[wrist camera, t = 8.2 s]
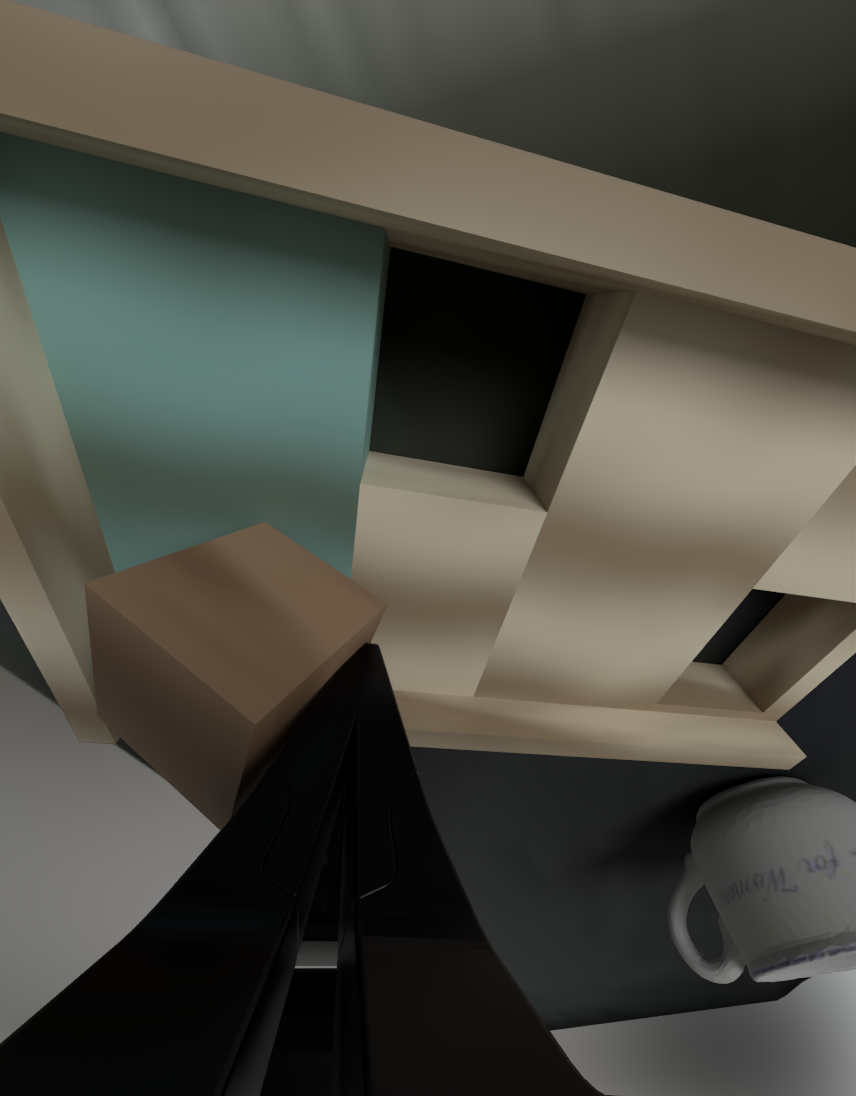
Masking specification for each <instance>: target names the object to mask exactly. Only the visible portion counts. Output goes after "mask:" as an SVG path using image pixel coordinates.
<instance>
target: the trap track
mask: <svg viewBox="0 0 856 1096" xmlns="http://www.w3.org/2000/svg"><path fill="white" fill-rule="evenodd" d="M391 247H395V248H399V249H403V250H407V251H411V252H415V253H420V254H424V255H428V256H432V257H436V258H440V259H444V260H448V261H452V262H456V263H461V264H465V265H469V266H473V267H477V268H481V269H485V270H489V271H493V272H498V273H502V274H506V275H510V276H514V277H518V278H522V279H526V280H530V281H534V282H539V283H543V284H547V285H551V286H555V287H559V288H563V289H567V290H571V291H576V292H580V293H584V294H586V297H585V300H584V303H583V306H582V309H581V312H580V314H579V317H578V320H577V323H576V326H575V329H574V332H573V335H572V338H571V341H570V343H569V346H568V349H567V352H566V355H565V358H564V361H563V364H562V367H561V370H560V372H559V375H558V378H557V381H556V384H555V387H554V390H553V393H552V396H551V399H550V402H549V404H548V407H547V410H546V413H545V416H544V419H543V422H542V425H541V428H540V431H539V433H538V436H537V439H536V442H535V445H534V448H533V451H532V454H531V457H530V460H529V462H528V465H527V468H526V471H525V474H524V477H521V476H515V475H509V474H503V473H497V472H491V471H485V470H479V469H473V468H467V467H461V466H455V465H449V464H443V463H437V462H431V461H425V460H419V459H413V458H407V457H402V456H396V455H390V454H384V453H378V452H372V451H369V448H370V438H371V429H372V419H373V410H374V400H375V391H376V381H377V372H378V362H379V353H380V343H381V334H382V324H383V315H384V305H385V296H386V286H387V277H388V267H389V258H390V249H391ZM262 522H265V523H268V524H269V525H271V526H272V527H274V528H275V529H277V530H278V531H280V532H281V533H283V534H284V535H286V536H287V537H289V538H290V539H292V540H293V541H295V542H296V543H298V544H299V545H301V546H302V547H304V548H305V549H307V550H308V551H309V552H311V553H312V554H314V555H315V556H317V557H318V558H320V559H321V560H323V561H324V562H326V563H327V564H329V565H330V566H332V567H333V568H335V569H336V570H338V571H339V572H341V573H342V574H344V575H345V576H347V577H348V578H350V579H351V580H353V581H354V582H356V583H357V584H358V585H360V586H361V587H363V588H364V589H366V590H367V591H369V592H370V593H372V594H373V595H375V596H376V597H378V598H379V599H381V600H382V601H384V602H385V603H387V604H388V605H387V607H386V609H385V612H384V614H383V616H382V618H381V621H380V623H379V625H378V627H377V629H376V632H375V634H374V636H373V638H372V641H371V643H375V644H378V645H379V647H380V650H381V653H382V656H383V659H384V663H385V666H386V669H387V672H388V676H389V679H390V682H391V685H392V689H393V692H394V695H395V698H396V702H397V705H398V708H399V711H400V714H401V718H402V721H403V724H404V727H405V731H406V734H407V737H408V740H409V744H410V746H414V747H430V748H446V749H463V750H479V751H495V752H511V753H528V754H544V755H560V756H576V757H593V758H609V759H625V760H641V761H657V762H674V763H690V764H706V765H722V766H739V767H755V768H771V769H787V770H789V769H791V768H792V767H793V766H795V765H796V764H797V763H799V762H800V761H801V760H803V759H804V758H805V757H807V756H806V755H805V754H804V753H803V752H802V751H801V750H800V749H799V747H798V746H797V745H796V744H795V743H794V742H793V741H792V739H791V738H790V737H789V736H788V735H787V734H786V733H785V732H784V730H783V729H782V728H781V727H780V726H779V725H778V724H777V722H776V721H777V720H778V719H779V718H780V717H781V716H782V715H784V714H785V713H786V712H787V711H788V710H789V709H791V708H792V707H793V706H794V705H795V704H796V703H798V702H799V701H800V700H801V699H802V698H803V697H804V696H806V695H807V694H808V693H809V692H810V691H811V690H813V689H814V688H815V687H816V686H817V685H818V684H820V683H821V682H822V681H823V680H824V679H825V678H827V677H828V676H829V675H830V674H831V673H832V672H833V671H835V670H836V669H837V668H838V667H839V666H840V665H842V664H843V663H844V662H845V661H846V660H847V659H849V658H850V657H851V656H852V655H853V654H854V653H856V248H854V247H851V246H847V245H844V244H840V243H837V242H834V241H830V240H827V239H823V238H820V237H817V236H813V235H810V234H806V233H803V232H799V231H796V230H793V229H789V228H786V227H782V226H779V225H776V224H772V223H769V222H765V221H762V220H758V219H755V218H752V217H748V216H745V215H741V214H738V213H735V212H731V211H728V210H724V209H721V208H717V207H714V206H711V205H707V204H704V203H700V202H697V201H694V200H690V199H687V198H683V197H680V196H677V195H673V194H670V193H666V192H663V191H659V190H656V189H653V188H649V187H646V186H642V185H639V184H636V183H632V182H629V181H625V180H622V179H618V178H615V177H612V176H608V175H605V174H601V173H598V172H595V171H591V170H588V169H584V168H581V167H577V166H574V165H571V164H567V163H564V162H560V161H557V160H554V159H550V158H547V157H543V156H540V155H536V154H533V153H530V152H526V151H523V150H519V149H516V148H513V147H509V146H506V145H502V144H499V143H495V142H492V141H489V140H485V139H482V138H478V137H475V136H472V135H468V134H465V133H461V132H458V131H455V130H451V129H448V128H444V127H441V126H437V125H434V124H431V123H427V122H424V121H420V120H417V119H414V118H410V117H407V116H403V115H400V114H396V113H393V112H390V111H386V110H383V109H379V108H376V107H373V106H369V105H366V104H362V103H359V102H355V101H352V100H349V99H345V98H342V97H338V96H335V95H332V94H328V93H325V92H321V91H318V90H314V89H311V88H308V87H304V86H301V85H297V84H294V83H291V82H287V81H284V80H280V79H277V78H273V77H270V76H267V75H263V74H260V73H256V72H253V71H250V70H246V69H243V68H239V67H236V66H233V65H229V64H226V63H222V62H219V61H215V60H212V59H209V58H205V57H202V56H198V55H195V54H192V53H188V52H185V51H181V50H178V49H174V48H171V47H168V46H164V45H161V44H157V43H154V42H151V41H147V40H144V39H140V38H137V37H133V36H130V35H127V34H123V33H120V32H116V31H113V30H110V29H106V28H103V27H99V26H96V25H92V24H89V23H86V22H82V21H79V20H75V19H72V18H69V17H65V16H62V15H58V14H55V13H51V12H48V11H45V10H41V9H38V8H34V7H31V6H28V5H24V4H21V3H17V2H14V1H10V0H0V599H1V601H2V603H3V604H4V606H5V608H6V610H7V612H8V613H9V615H10V617H11V619H12V621H13V622H14V624H15V626H16V628H17V630H18V631H19V633H20V635H21V637H22V639H23V640H24V642H25V644H26V646H27V648H28V649H29V651H30V653H31V655H32V657H33V658H34V660H35V662H36V664H37V666H38V668H39V669H40V671H41V673H42V675H43V677H44V678H45V680H46V682H47V684H48V686H49V687H50V689H51V691H52V693H53V695H54V696H55V698H56V700H57V702H58V704H59V705H60V707H61V709H62V711H63V712H64V714H65V716H66V718H67V720H68V722H69V723H70V725H71V727H72V729H73V731H74V732H75V734H76V736H77V738H78V740H79V741H80V742H87V743H88V742H89V743H105V744H116V743H117V741H118V740H119V738H120V737H119V736H118V735H117V734H116V733H115V732H114V731H113V730H112V729H111V728H110V727H109V726H107V725H106V724H105V723H104V722H103V721H102V720H101V719H100V718H99V717H98V716H97V708H96V698H95V687H94V677H93V667H92V657H91V646H90V636H89V626H88V615H87V605H86V595H85V585H84V583H87V582H90V581H93V580H96V579H99V578H102V577H104V576H107V575H110V574H113V573H116V572H119V571H122V570H125V569H128V568H131V567H134V566H137V565H140V564H142V563H145V562H148V561H151V560H154V559H157V558H160V557H163V556H166V555H169V554H172V553H175V552H178V551H180V550H183V549H186V548H189V547H192V546H195V545H198V544H201V543H204V542H207V541H210V540H213V539H215V538H218V537H221V536H224V535H227V534H230V533H233V532H236V531H239V530H242V529H245V528H248V527H251V526H253V525H256V524H259V523H262ZM752 589H758V590H766V591H773V592H780V593H786V594H785V595H784V596H783V598H782V599H781V600H780V601H779V602H778V603H777V604H776V605H775V606H774V607H773V609H772V610H771V611H770V612H769V613H768V614H767V615H766V616H765V617H764V619H763V620H762V621H761V622H760V623H759V624H758V625H757V626H756V627H755V628H754V630H753V631H752V632H751V633H750V634H749V635H748V636H747V637H746V638H745V640H744V641H743V642H742V643H741V644H740V645H739V646H738V647H737V648H736V649H735V651H734V652H733V653H732V654H731V655H730V656H729V657H728V658H727V659H726V661H725V662H724V663H723V664H722V665H718V664H708V663H699V662H692V660H693V659H694V658H695V657H696V656H697V654H698V653H699V652H700V651H701V650H702V648H703V647H704V646H705V645H706V644H707V643H708V641H709V640H710V639H711V638H712V637H713V635H714V634H715V633H716V632H717V631H718V629H719V628H720V627H721V626H722V625H723V623H724V622H725V621H726V620H727V619H728V617H729V616H730V615H731V614H732V613H733V611H734V610H735V609H736V608H737V607H738V605H739V604H740V603H741V602H742V601H743V599H744V598H745V597H746V596H747V595H748V593H749V592H750V591H751V590H752Z"/></svg>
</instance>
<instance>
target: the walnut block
mask: <svg viewBox="0 0 856 1096" xmlns="http://www.w3.org/2000/svg"><path fill="white" fill-rule="evenodd" d="M84 585H85V595H86V605H87V615H88V626H89V636H90V646H91V657H92V667H93V677H94V687H95V698H96V708H97V716H98V717H99V718H100V719H101V720H102V721H103V722H104V723H105V724H106V725H107V726H109V727H110V728H111V729H112V730H113V731H114V732H115V733H116V734H117V735H118V736H119V737H120V738H121V739H123V740H124V741H125V742H126V743H127V744H128V745H129V746H130V747H131V748H132V749H133V750H134V751H135V752H137V753H138V754H139V755H140V756H141V757H142V758H143V759H144V760H145V761H146V762H147V763H148V764H149V765H151V766H152V767H153V768H154V769H155V770H156V771H157V772H158V773H159V774H160V775H161V776H162V777H163V778H165V779H166V780H167V781H168V782H169V783H170V784H171V785H172V786H173V787H174V788H175V789H176V790H178V791H179V792H180V793H181V794H182V795H183V796H184V797H185V798H186V799H187V800H188V801H189V802H190V803H192V804H193V805H194V806H195V807H196V808H197V809H198V810H199V811H200V812H201V813H203V815H205V816H206V817H207V818H208V819H209V820H210V821H211V822H212V823H213V824H214V825H215V826H216V827H217V828H218V829H220V830H221V829H222V828H223V827H224V826H225V825H226V823H227V822H228V821H229V820H230V819H231V817H232V816H233V815H234V814H235V812H236V811H237V810H238V809H239V808H240V806H241V805H242V804H243V803H244V801H245V800H246V799H247V797H248V796H249V795H250V793H251V792H252V791H253V789H254V788H255V787H256V785H257V784H258V783H259V781H260V780H261V778H262V777H263V776H264V774H265V773H266V771H267V770H268V769H269V767H270V766H271V764H272V763H273V761H274V760H277V756H278V754H279V753H280V752H281V750H282V749H283V747H284V746H285V744H286V743H287V742H288V740H289V739H290V737H291V736H292V734H293V733H294V731H295V730H296V729H297V727H298V726H299V724H300V723H301V721H302V720H303V719H304V717H305V716H306V714H307V713H308V711H309V710H310V708H311V707H312V706H313V704H314V703H315V701H316V700H317V698H318V697H319V696H320V694H321V693H322V691H323V690H324V688H325V687H326V685H327V684H328V683H329V681H330V680H331V678H332V677H333V675H334V674H335V673H336V671H337V670H338V669H339V668H340V667H341V666H342V665H343V664H344V663H345V662H346V661H347V660H348V659H349V658H350V657H351V656H352V655H353V654H354V653H355V652H356V651H357V650H358V649H359V648H360V647H361V646H362V645H363V644H365V643H371V641H372V638H373V636H374V634H375V632H376V629H377V627H378V625H379V623H380V621H381V618H382V616H383V614H384V612H385V609H386V607H387V605H388V604H387V603H385V602H384V601H382V600H381V599H379V598H378V597H376V596H375V595H373V594H372V593H370V592H369V591H367V590H366V589H364V588H363V587H361V586H360V585H358V584H357V583H356V582H354V581H353V580H351V579H350V578H348V577H347V576H345V575H344V574H342V573H341V572H339V571H338V570H336V569H335V568H333V567H332V566H330V565H329V564H327V563H326V562H324V561H323V560H321V559H320V558H318V557H317V556H315V555H314V554H312V553H311V552H309V551H308V550H307V549H305V548H304V547H302V546H301V545H299V544H298V543H296V542H295V541H293V540H292V539H290V538H289V537H287V536H286V535H284V534H283V533H281V532H280V531H278V530H277V529H275V528H274V527H272V526H271V525H269V524H268V523H265V522H262V523H259V524H256V525H253V526H251V527H248V528H245V529H242V530H239V531H236V532H233V533H230V534H227V535H224V536H221V537H218V538H215V539H213V540H210V541H207V542H204V543H201V544H198V545H195V546H192V547H189V548H186V549H183V550H180V551H178V552H175V553H172V554H169V555H166V556H163V557H160V558H157V559H154V560H151V561H148V562H145V563H142V564H140V565H137V566H134V567H131V568H128V569H125V570H122V571H119V572H116V573H113V574H110V575H107V576H104V577H102V578H99V579H96V580H93V581H90V582H87V583H84Z"/></svg>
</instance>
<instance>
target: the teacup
mask: <svg viewBox="0 0 856 1096" xmlns="http://www.w3.org/2000/svg"><path fill="white" fill-rule="evenodd" d="M696 819H697V821H696V825H695V827H694V829H693V833H692V836H691V851H689V852H688V853H687V854H686V857H685V871H684V873H683V874H682V876H681V878H680V879H679V881H678V883H677V884H676V886H675V889H674V891H673V893H672V896H671V899H670V902H669V906H668V923H669V928H670V933H671V936H672V939H673V942H674V944H675V946H676V947H677V949H678V951H679V953H680V954H681V956H682V957H683V959H684V960H685V961H686V963H687V964H688V965H689V966H690V967H691V968H692V969H693V970H694V971H695V972H696V973H697V974H699V975H700V976H702V977H703V978H705V979H707V980H709V981H712V982H715V983H721V984H726V983H730V982H733V981H735V980H736V979H737V978H738V977H739V976H740V974H741V973H742V972H743V969H744V966H745V965H747V966H748V970H749V974H750V975H751V977H752V979H753V980H754V981H757V982H774V981H785V980H792V979H796V978H803V977H813V976H818V975H821V974H828V973H832V972H840V971H847V970H853V969H856V803H855V802H854V801H852V800H851V799H849V798H847V797H846V796H844V795H842V794H840V793H837V792H835V791H833V790H830V789H826V788H822V787H819V786H815V785H811V784H808V783H806V782H804V781H802V780H799V779H796V778H792V777H784V776H781V777H770V778H763V779H758V780H753V781H750V782H747V783H744V784H741V785H738V786H734V787H732V788H729V789H727V790H724V791H722V792H720V793H718V794H716V795H714V796H713V797H711V798H710V799H709V800H707V801H706V802H704V803H703V804H702V805H701V806H700V808H699V809H698V812H697V815H696ZM703 884H705V886H706V888H707V890H708V892H709V894H710V896H711V898H712V900H713V902H714V904H715V906H716V908H717V910H718V912H719V914H720V915H719V918H718V921H719V926H720V929H721V932H722V935H723V943H724V951H723V954H722V956H721V957H720V958H718V959H715V960H710V959H708V958H706V957H704V956H703V955H702V954H701V953H699V952H698V951H697V949H696V948H695V946H694V945H693V943H692V941H691V939H690V937H689V935H688V932H687V926H686V915H687V911H688V907H689V904H690V901H691V899H692V898H693V896H694V895H695V893H696V892H697V890H698V889H699V888H700V887H701V886H702V885H703Z"/></svg>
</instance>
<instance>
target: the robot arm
mask: <svg viewBox="0 0 856 1096" xmlns="http://www.w3.org/2000/svg"><path fill="white" fill-rule="evenodd" d="M310 965H311V966H329V965H330V966H337V968H312V969H311V968H303V969H300V968H297V969H296V968H295V966H310ZM0 1096H612V1095H604V1094H603V1093H601V1092H599V1091H598V1090H596V1089H595V1088H594V1087H593V1086H592V1085H591V1084H590V1083H589V1082H588V1081H587V1080H585V1079H584V1078H583V1076H582V1075H581V1074H580V1073H579V1071H578V1070H577V1069H576V1068H575V1066H574V1065H573V1064H572V1063H571V1061H570V1060H569V1058H568V1057H567V1055H566V1054H565V1052H564V1051H563V1049H562V1048H561V1047H560V1045H559V1044H558V1042H557V1041H556V1039H555V1038H554V1036H553V1035H552V1034H551V1032H550V1031H549V1029H548V1028H547V1026H546V1025H545V1023H544V1022H543V1020H542V1019H541V1018H540V1016H539V1015H538V1013H537V1012H536V1010H535V1009H534V1007H533V1006H532V1004H531V1003H530V1002H529V1000H528V999H527V997H526V996H525V994H524V993H523V991H522V990H521V988H520V987H519V986H518V984H517V983H516V981H515V980H514V978H513V977H512V975H511V974H510V972H509V971H508V970H507V968H506V967H505V965H504V964H503V962H502V961H501V959H500V958H499V956H498V955H497V954H496V952H495V951H494V949H493V947H492V945H491V944H490V942H489V940H488V938H487V937H486V935H485V933H484V931H483V929H482V927H481V925H480V923H479V921H478V919H477V917H476V915H475V913H474V911H473V908H472V906H471V904H470V902H469V899H468V897H467V895H466V892H465V890H464V888H463V886H462V883H461V881H460V879H459V876H458V874H457V872H456V870H455V867H454V865H453V863H452V860H451V858H450V856H449V854H448V851H447V849H446V847H445V844H444V842H443V840H442V837H441V835H440V832H439V830H438V827H437V825H436V822H435V820H434V817H433V815H432V812H431V809H430V806H429V803H428V800H427V797H426V794H425V791H424V788H423V785H422V782H421V779H420V776H419V773H418V772H417V766H416V763H415V760H414V757H413V753H412V750H411V747H410V744H409V740H408V737H407V734H406V731H405V727H404V724H403V721H402V718H401V714H400V711H399V708H398V705H397V702H396V698H395V695H394V692H393V689H392V685H391V682H390V679H389V676H388V672H387V669H386V666H385V663H384V659H383V656H382V653H381V650H380V647H379V645H378V644H375V643H365V644H363V645H362V646H361V647H360V648H359V649H358V650H357V651H356V652H355V653H354V654H353V655H352V656H351V657H350V658H349V659H348V660H347V661H346V662H345V663H344V664H343V665H342V666H341V667H340V668H339V669H338V670H337V671H336V673H335V674H334V675H333V677H332V678H331V680H330V681H329V683H328V684H327V685H326V687H325V688H324V690H323V691H322V693H321V694H320V696H319V697H318V698H317V700H316V701H315V703H314V704H313V706H312V707H311V708H310V710H309V711H308V713H307V714H306V716H305V717H304V719H303V720H302V721H301V723H300V724H299V726H298V727H297V729H296V730H295V731H294V733H293V734H292V736H291V737H290V739H289V740H288V742H287V743H286V744H285V746H284V747H283V749H282V750H281V752H280V753H279V754H278V756H277V760H274V761H273V763H272V764H271V766H270V767H269V769H268V770H267V771H266V773H265V774H264V776H263V777H262V778H261V780H260V781H259V783H258V784H257V785H256V787H255V788H254V789H253V791H252V792H251V793H250V795H249V796H248V797H247V799H246V800H245V801H244V803H243V804H242V805H241V806H240V808H239V809H238V810H237V811H236V812H235V814H234V815H233V816H232V817H231V819H230V820H229V821H228V822H227V823H226V825H225V826H224V827H223V828H222V829H221V831H220V832H219V833H218V834H217V835H216V836H215V838H214V839H213V840H212V841H211V842H210V843H209V845H208V846H207V847H206V848H205V849H204V851H203V852H202V853H201V854H200V855H199V856H198V857H197V859H196V860H195V861H194V862H193V863H192V864H191V866H190V867H189V868H188V869H187V870H186V871H185V873H184V874H183V875H182V876H181V877H180V878H179V880H178V881H177V882H176V883H175V884H174V886H173V887H172V888H171V889H170V890H169V892H167V894H166V895H165V896H164V897H163V898H162V899H161V900H160V901H159V903H158V904H157V905H156V906H155V907H154V908H153V909H152V910H151V911H150V912H149V913H148V914H147V916H146V917H145V918H144V919H143V920H142V921H141V922H140V923H139V924H138V925H137V926H136V927H135V928H134V929H133V930H132V931H131V932H130V933H129V934H127V935H126V936H125V937H124V938H123V939H122V940H121V941H120V942H119V943H118V944H117V945H115V946H114V947H113V948H112V949H111V950H109V951H108V952H107V953H106V954H105V955H104V956H102V957H101V958H100V959H99V960H98V961H97V962H95V963H94V964H93V965H92V966H91V967H89V968H88V969H87V970H86V971H85V972H84V973H82V974H81V975H80V976H79V977H78V978H77V979H75V980H74V981H73V982H72V983H71V984H70V985H69V986H67V987H66V988H65V989H64V990H63V991H61V992H60V993H59V994H58V995H57V996H56V997H54V998H53V999H52V1000H51V1001H50V1002H49V1003H47V1004H46V1005H45V1006H44V1007H43V1008H41V1009H40V1010H39V1011H38V1012H37V1013H36V1014H34V1015H33V1016H32V1017H31V1018H30V1019H29V1020H27V1021H26V1022H25V1023H24V1024H23V1025H22V1026H21V1027H19V1028H18V1029H17V1030H16V1031H15V1032H13V1033H12V1034H11V1035H10V1036H9V1037H7V1038H6V1039H5V1040H4V1041H3V1042H2V1043H0Z"/></svg>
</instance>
